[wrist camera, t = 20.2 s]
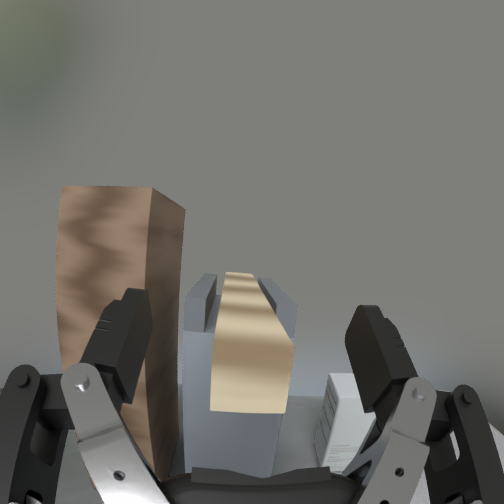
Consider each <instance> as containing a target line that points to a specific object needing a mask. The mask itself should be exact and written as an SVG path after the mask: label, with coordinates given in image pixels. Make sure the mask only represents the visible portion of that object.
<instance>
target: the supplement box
mask: <svg viewBox="0 0 504 504" xmlns="http://www.w3.org/2000/svg"><path fill="white" fill-rule="evenodd" d="M375 418H376V415H375V412H372V413H364V410H363V406H362V403H361V399H360V395H359V391H358V388H357V384H356V381H355V377H354V373H329V375H328V380H327V386H326V391H325V396H324V401H323V406H322V410H321V415H320V419H319V423H318V427H317V431H316V435H315V440H314V444H315V449H316V454H317V459H318V463H319V467H326V466H330V472H333V471H344V469H345V468H346V467H347V466H348V464H349V463H350V462H351V461H352V460H353V458H354V457H355V455H356V453H357V451H358V450H359V448H360V446H361V444H362V442H363V440H364V438H365V436H366V434H367V432H368V430H369V428H370V426H371V424H372V422H373V420H374V419H375Z"/></svg>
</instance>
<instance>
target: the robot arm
mask: <svg viewBox="0 0 504 504" xmlns="http://www.w3.org/2000/svg"><path fill="white" fill-rule="evenodd" d="M152 326H153V320H152V313H151V307H150V300H149V294H148V291H147V290H145V289H136V288H127V289H126V291H125V293H124V295H123V297H122V299H121V300H113V301H112V302H111V303H110V304H108V305H107V306H106V307H105V308H104V310H103V312H102V314H101V316H100V318H99V321H98V322H97V324H96V327H95V329H94V331H93V333H92V335H91V337H90V339H89V342H88V344H87V346H86V348H85V350H84V353H83V355H82V357H81V360H80V361H79V363H77V364H74V365H71V366H70V367H68V368H67V369H66V370H65V371H64V373H63V374H50V375H40V374H39V373H38V371H37V370H36V369H35V368H34V367H33V366H31V365H20V366H18V367H16V368H15V369H14V370H13V371H12V372H11V373H10V375H9V377H8V379H7V381H6V384H5V386H4V388H3V391H2V393H1V396H0V504H55V497H56V490H57V484H58V477H59V472H60V466H61V461H62V456H63V451H64V447H65V442H66V438H67V434H68V430H73V429H76V432H77V434H78V437H79V441H78V442H77V444H78V448H79V451H80V454H81V456H82V458H83V461H84V463H85V465H86V467H87V469H88V472H89V474H90V476H91V478H92V480H93V482H94V484H95V486H96V488H97V490H98V492H99V494H100V495H101V497H102V499H103V501H104V503H105V504H410V501H411V499H412V497H413V494H414V492H415V490H416V487H417V485H418V482H419V479H420V477H421V474H422V472H423V469H424V470H425V475H426V480H427V486H428V491H429V497H430V503H431V504H504V473H503V469H502V465H501V461H500V458H499V454H498V451H497V448H496V444H495V441H494V438H493V435H492V432H491V429H490V426H489V423H488V421H487V418H486V415H485V413H484V410H483V407H482V405H481V402H480V400H479V397H478V395H477V393H476V392H475V390H474V389H473V388H471V387H470V386H468V385H459V386H457V388H455V389H454V390H453V392H452V393H451V392H444V391H437V390H435V388H434V387H433V385H432V384H431V383H430V382H429V381H427V380H426V379H424V378H420V377H418V375H417V372H416V370H415V368H414V366H413V363H412V361H411V358H410V356H409V354H408V352H407V350H406V347H404V343H403V341H402V339H401V337H400V334H399V332H398V330H397V328H396V327H395V325H394V324H392V322H391V321H390V320H389V319H388V318H384V317H383V315H382V313H381V311H380V308H379V307H378V306H376V305H359V306H358V307H357V309H356V311H355V313H354V316H353V318H352V320H351V322H350V325H349V327H348V329H347V331H346V335H345V346H346V350H347V353H348V356H349V360H350V363H351V366H352V370H353V373H354V377H355V381H356V384H357V388H358V391H359V395H360V399H361V403H362V406H363V410H364V413H372V412H375V415H376V418H375V419H374V420H373V422H372V424H371V426H370V428H369V430H368V432H367V434H366V436H365V438H364V440H363V442H362V444H361V446H360V448H359V450H358V451H357V453H356V455H355V457H354V458H353V460H352V461H351V462H350V463H349V464H348V466H347V467H346V468H345V469H344V471H343V472H342V474H341V475H340V474H335V473H331V472H330V466H326V467H316V468H305V469H296V470H293V471H290V472H286V473H283V474H279V475H275V476H271V477H267V478H259V477H254V476H250V475H246V474H242V473H238V472H234V471H230V470H224V469H210V468H199V467H192V473H184V474H180V475H176V476H173V477H170V478H168V479H166V480H164V481H162V482H161V481H160V480H159V478H158V477H157V475H156V474H155V472H154V471H153V469H152V467H151V466H150V464H149V463H148V461H147V460H146V458H145V457H144V455H143V454H142V452H141V450H140V448H139V447H138V445H137V443H136V441H135V440H134V438H133V436H132V434H131V432H130V431H129V429H128V427H127V425H126V423H125V421H124V419H123V417H122V415H121V413H120V411H121V408H122V404H123V403H127V404H131V405H132V402H133V398H134V395H135V391H136V387H137V383H138V379H139V376H140V372H141V368H142V365H143V361H144V358H145V354H146V351H147V347H148V344H149V340H150V337H151V333H152ZM453 431H454V433H455V437H456V440H457V444H458V447H459V451H460V455H459V459H458V460H457V459H456V455H455V451H454V448H453V444H452V440H451V437H450V433H452V432H453Z"/></svg>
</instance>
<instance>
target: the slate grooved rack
mask: <svg viewBox="0 0 504 504" xmlns="http://www.w3.org/2000/svg"><path fill="white" fill-rule="evenodd" d="M216 284H217V274H206V273H205V274H204V275H203V276H202V277H201V279H200V280H199V281H198V282H197V283H196V284H195V285H194V287H193V288H192V289H191V290H190V292H189V293H188V294H187V295H186V296H185V302H184V328H183V433H184V457H185V473H192V467H199V468H210V469H224V470H230V471H234V472H238V473H242V474H246V475H250V476H254V477H259V478H267V477H271V474H272V469H273V464H274V459H275V454H276V448H277V443H278V437H279V432H280V426H281V420H282V414H283V413H240V412H223V411H210V395H211V371H212V350H213V340H214V334H215V329H216V324H217V318H218V313H219V308H220V303H221V297H222V295H216ZM258 285H259V287H260V288H261V290H262V292H263V294H264V295H265V297H266V299H267V301H268V302H269V304H270V306H271V307H272V309H273V311H274V313H275V314H276V316H277V318H278V319H279V321H280V323H281V325H282V326H283V328H284V330H285V331H286V333H287V335H288V337H289V338H290V340H291V342H292V343H293V338H294V331H295V323H296V314H297V304H296V303H295V302H294V301H293V300H292V299H291V298H290V297H289V296H288V295H287V294H286V293H285V292H284V291H283V290H281V288H280V287H279V286H278V285H277V284H276V283H275V282H274V281H273V280H272V279H270V278H259V280H258Z"/></svg>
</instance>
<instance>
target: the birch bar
mask: <svg viewBox="0 0 504 504" xmlns="http://www.w3.org/2000/svg"><path fill="white" fill-rule="evenodd" d="M294 349H295V347H294V345H293V343H292V342H291V340H290V338H289V337H288V335H287V333H286V331H285V330H284V328H283V326H282V325H281V323H280V321H279V319H278V318H277V316H276V314H275V313H274V311H273V309H272V307H271V306H270V304H269V302H268V301H267V299H266V297H265V295H264V294H263V292H262V290H261V288H260V287H259V285H258V283H257V282H256V280H255V278H254V276H253V275H252V274H245V273H233V272H226V277H225V282H224V287H223V292H222V297H221V303H220V308H219V313H218V318H217V324H216V329H215V334H214V340H213V350H212V371H211V395H210V411H223V412H240V413H285V410H286V403H287V397H288V391H289V385H290V377H291V371H292V364H293V357H294Z"/></svg>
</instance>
